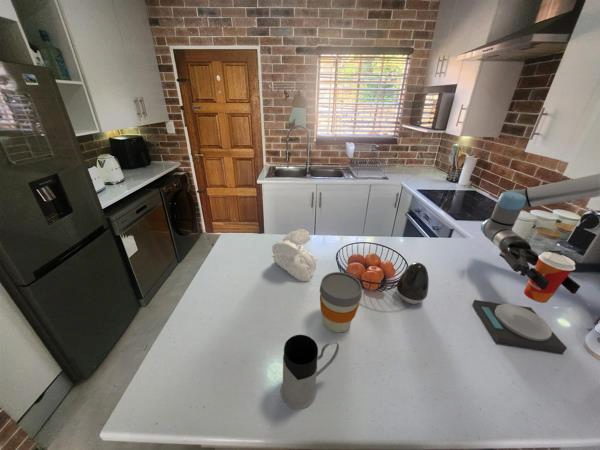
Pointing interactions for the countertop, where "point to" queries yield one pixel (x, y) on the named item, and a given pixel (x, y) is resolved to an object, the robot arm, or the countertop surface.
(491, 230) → the robot arm
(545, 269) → the paper cup
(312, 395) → the glass holder
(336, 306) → the reusable coffee cup
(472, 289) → the countertop surface
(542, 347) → the scale
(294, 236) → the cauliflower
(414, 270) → the dark egg shaped ornament
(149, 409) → the countertop surface
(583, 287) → the countertop surface
